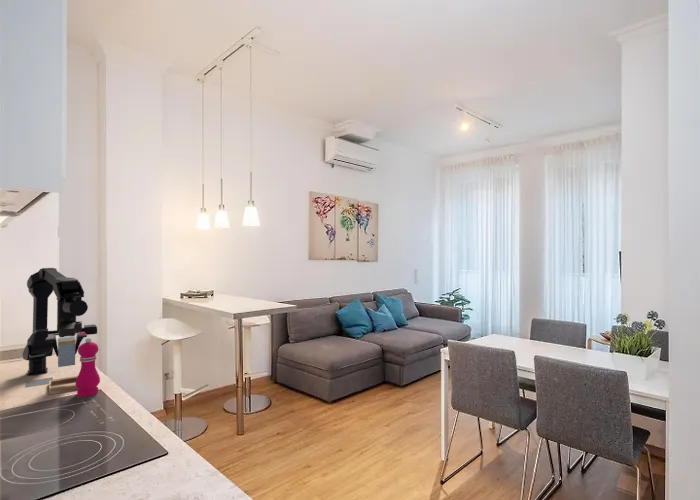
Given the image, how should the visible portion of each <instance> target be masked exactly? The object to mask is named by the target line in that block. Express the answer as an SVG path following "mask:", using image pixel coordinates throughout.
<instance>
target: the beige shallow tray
mask: <svg viewBox="0 0 700 500" xmlns="http://www.w3.org/2000/svg"><path fill="white" fill-rule="evenodd" d="M77 377H78V375H74V376H67V377H62V378H61V377H60V378H53V380H49V384H48V395H54V394H60V393H67V392H71V391H72V392H73V391H78V390H79V389H78V388H77V387H76V379H77Z"/></svg>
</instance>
